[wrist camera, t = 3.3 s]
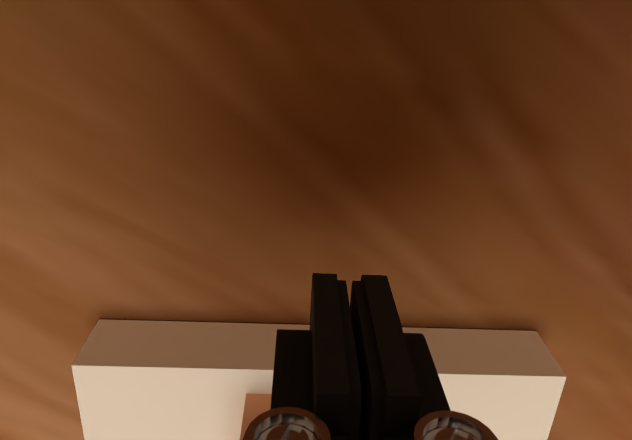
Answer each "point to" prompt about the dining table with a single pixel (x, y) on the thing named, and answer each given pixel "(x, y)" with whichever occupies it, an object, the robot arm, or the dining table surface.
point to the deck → (257, 377)
